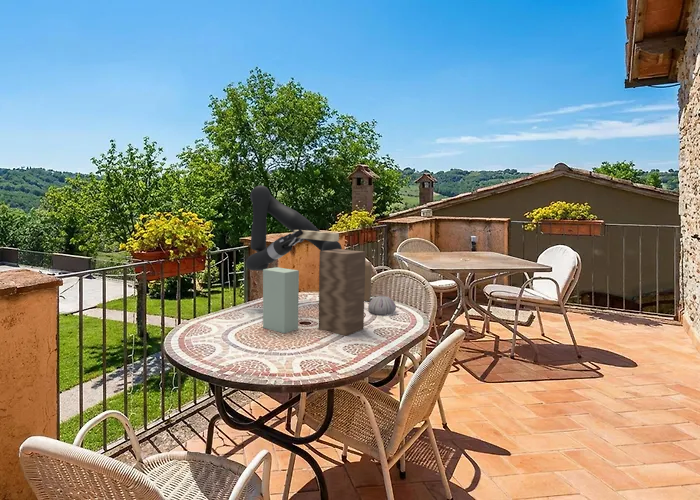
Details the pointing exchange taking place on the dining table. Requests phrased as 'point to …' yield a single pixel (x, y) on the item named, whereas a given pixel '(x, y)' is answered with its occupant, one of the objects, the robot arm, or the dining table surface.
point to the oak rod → (319, 235)
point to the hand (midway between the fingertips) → (304, 231)
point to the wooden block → (367, 281)
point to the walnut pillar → (341, 291)
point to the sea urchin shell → (382, 305)
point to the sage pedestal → (280, 299)
